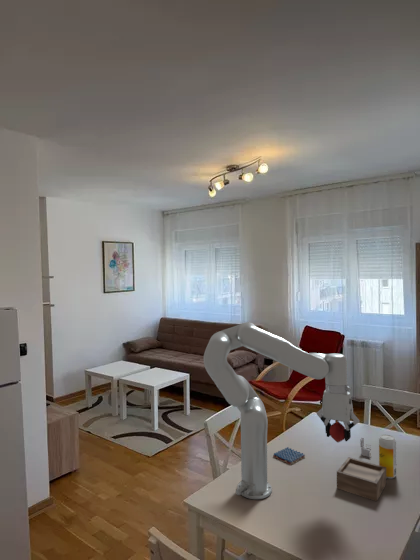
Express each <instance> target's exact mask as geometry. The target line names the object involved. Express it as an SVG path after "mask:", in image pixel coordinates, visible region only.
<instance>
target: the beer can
mask: <svg viewBox="0 0 420 560" xmlns="http://www.w3.org/2000/svg"><path fill="white" fill-rule="evenodd" d="M378 465H379V466H383V467H386V479H390V480H391V479H394V478H395V477H396V476H397V441H396V438H395V437H394V436H393V435H390V434H380V436H379V438H378Z"/></svg>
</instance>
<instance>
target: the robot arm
mask: <svg viewBox="0 0 420 560" xmlns="http://www.w3.org/2000/svg"><path fill="white" fill-rule="evenodd" d="M241 347H244V348H246V349H247V350H248V349H249V350H251V351H253V352H256V353H258V354H259V355H263V356H264V357H267V358H270V359H271V360H273V361H275V362H278V363H279V364H281V365H283V366H286V367H287V368H289V369H291V370H293V371H295V372H298V373H299V374H302V375H304V376H306V377H308V378H312V379H314V380H322V379H325V381H324V382H325V390H324V391H323V395H322V407H321V408H320V409H319V410H318V411H317V412H316V415H317V417H318V418H320V420H321V422H322V423H323V425H324V426H325V428H324V429H325V434H326V438H327V437H328V438H329V437H331V436H330V433H329V430H330V427H331V425H332V423H331V421H335V420H336V421H338V422H340V423H343V426H344V427H345V430H344V435H345V439H344V441H345V442H348V441H349V440H350V439H351V430H352V428H354V427H355V426H356V425H358V424H359V422H360V419H359V418H358V417H357V415H356V414H355V413H354V408H353V407H354V406H353V401H352V396H351V392H352V387H351V386H349V384H348V368H347V365H348V364H347V362H348V361H347V357H346V356H345V355H344V354H343V353H335V352H334V353H320V352H318V353H317V352H309V353H308V352H307V351H304V350H302V349H300V348H299V347H296V346H295V345H293V344H292V343H291V342H290V341H288V340H286V339H285V338H283V337H281V336H279V335H276V334H273V333H271V332H269V331H266V330H264V329H262V328H260V327H258V326H257V325H255V324H254V323H253V322H250V321H249V322H243V323H240V324H237V325H234V326H232V327H229V328H225V329H222V330H220V331H218V332H217V331H216V332H215V333H213V335H211V336H210V339H209V340H208V343H207V345H206V347H205V350H204V354H203V365H204V366H203V367H204V368H205V371H206V372H207V374H208V376H209V377H210V378H211V380H212V381H213V382H214V384H215V386H216V387H217V389H218V391H220V393H221V395H222V396H223V398H224V399H225V401H226V402H227V403H228V404H229V405H230V406H232V407H235V408H237V410H238V411H239V412H240V453H241V455H240V456H241V459H240V460H241V461H240V462H241V465H240V466H241V471H240V472H241V480H240V482H238V484H237V486H236V487H237V489H235V494H236V496H241V497H245V498H246V499H250V500H262V499H265V498H268V497H269V496H271V495H272V489H273V488H272V487H273V486H272V485H271V483H269V481H268V416H267V412H266V407H265V405H264V402H263V401H262V399H261V398H260V396H259V395H258V394H257V392H256V390H254V389H253V387H252V385H251V383H249V381H248V380H247V379H246V378H245V377H244V376H243V375H239V374H237V373H236V372H235V370H234V368H233V367H232V365H230V363H229V362H228V356H229V354H230V352H231V351H232V350H236V349H238V348H241ZM351 420H352V422H351Z"/></svg>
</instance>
